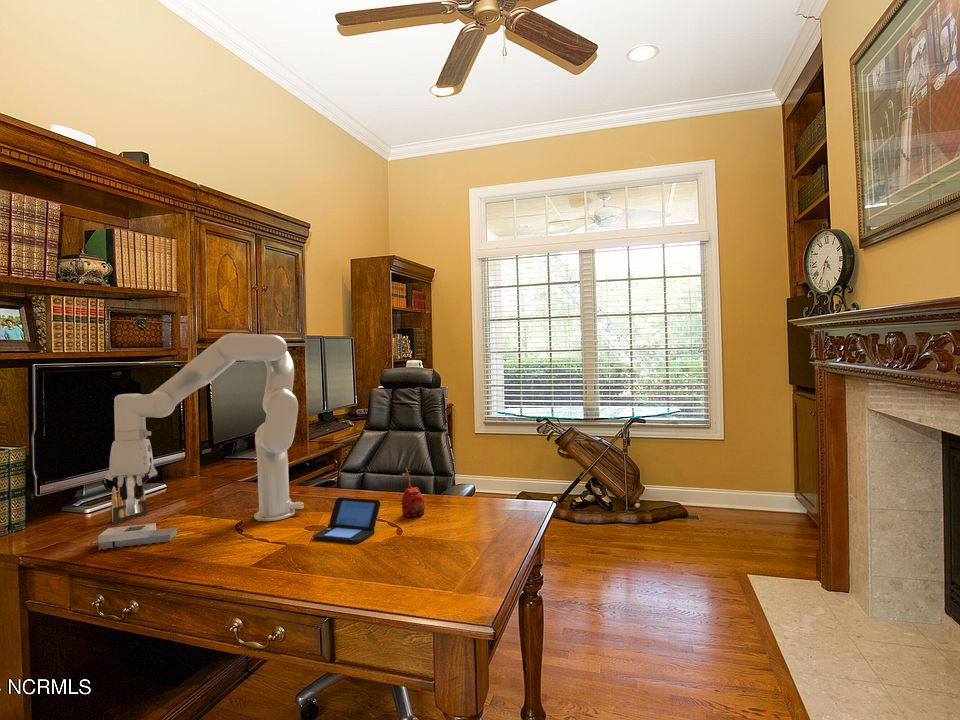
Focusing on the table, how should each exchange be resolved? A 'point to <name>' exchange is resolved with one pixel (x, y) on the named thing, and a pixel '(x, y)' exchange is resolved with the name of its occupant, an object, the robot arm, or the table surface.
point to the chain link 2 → (150, 538)
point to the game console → (350, 521)
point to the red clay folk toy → (412, 501)
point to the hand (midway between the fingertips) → (132, 498)
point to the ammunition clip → (120, 507)
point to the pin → (131, 494)
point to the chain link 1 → (124, 534)
